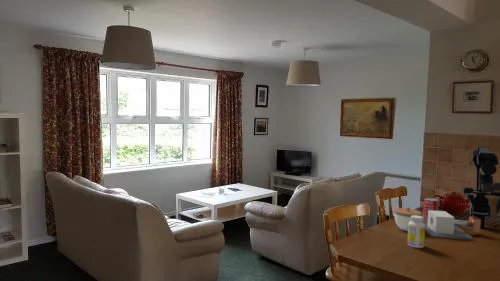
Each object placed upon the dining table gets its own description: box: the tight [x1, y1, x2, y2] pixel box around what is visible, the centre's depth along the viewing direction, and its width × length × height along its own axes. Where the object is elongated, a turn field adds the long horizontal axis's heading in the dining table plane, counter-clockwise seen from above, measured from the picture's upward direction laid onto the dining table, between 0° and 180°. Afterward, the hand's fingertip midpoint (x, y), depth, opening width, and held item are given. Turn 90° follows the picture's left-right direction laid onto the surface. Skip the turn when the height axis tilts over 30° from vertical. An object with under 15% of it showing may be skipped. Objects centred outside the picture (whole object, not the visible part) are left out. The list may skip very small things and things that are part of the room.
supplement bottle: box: [407, 215, 426, 249], centre depth 158 cm, size 7×7×13 cm
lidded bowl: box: [394, 206, 423, 232], centre depth 182 cm, size 13×13×11 cm
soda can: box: [422, 197, 439, 224], centre depth 193 cm, size 7×7×13 cm
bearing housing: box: [424, 210, 474, 241], centre depth 178 cm, size 20×18×9 cm
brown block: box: [454, 215, 481, 233], centre depth 177 cm, size 5×14×6 cm, turn 81°
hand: (484, 211), depth 169 cm, fingers open, 9 cm apart
